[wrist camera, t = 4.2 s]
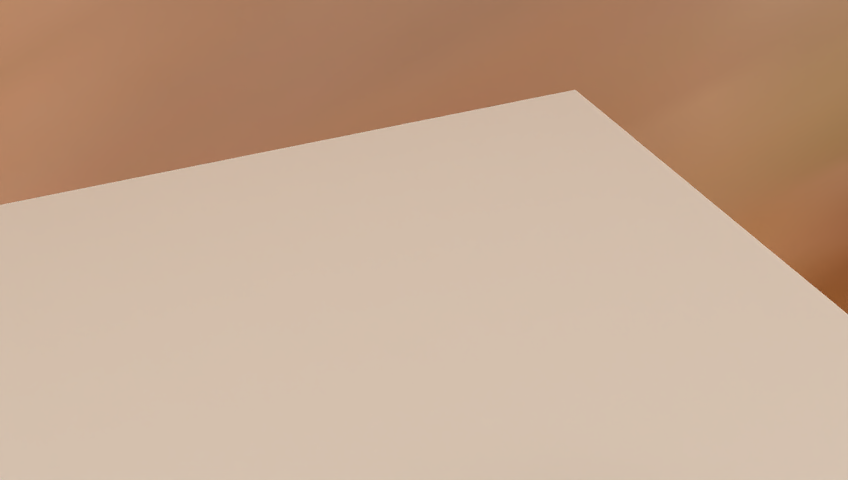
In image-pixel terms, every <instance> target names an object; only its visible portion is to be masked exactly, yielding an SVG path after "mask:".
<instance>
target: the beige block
mask: <svg viewBox="0 0 848 480" xmlns="http://www.w3.org/2000/svg"><path fill="white" fill-rule="evenodd" d="M0 480H848V314H847V313H845V312H844V311H843V310H842V309H841V308H839V307H838V306H837V305H836V304H834V303H833V302H832V301H831V300H830V299H828V298H827V297H826V296H825V295H824V294H822V293H821V292H820V291H819V290H818V289H816V288H815V287H814V286H813V285H811V284H810V283H809V282H808V281H807V280H805V279H804V278H803V277H802V276H801V275H799V274H798V273H797V272H796V271H794V270H793V269H792V268H791V267H790V266H788V265H787V264H786V263H785V262H784V261H782V260H781V259H780V258H779V257H777V256H776V255H775V254H774V253H773V252H771V251H770V250H769V249H768V248H767V247H765V246H764V245H763V244H762V243H760V242H759V241H758V240H757V239H756V238H754V237H753V236H752V235H751V234H750V233H748V232H747V231H746V230H745V229H743V228H742V227H741V226H740V225H739V224H737V223H736V222H735V221H734V220H733V219H731V218H730V217H729V216H728V215H727V214H725V213H724V212H723V211H722V210H720V209H719V208H718V207H717V206H716V205H714V204H713V203H712V202H711V201H710V200H708V199H707V198H706V197H705V196H703V195H702V194H701V193H700V192H699V191H697V190H696V189H695V188H694V187H693V186H691V185H690V184H689V183H688V182H686V181H685V180H684V179H683V178H682V177H680V176H679V175H678V174H677V173H676V172H674V171H673V170H672V169H671V168H669V167H668V166H667V165H666V164H665V163H663V162H662V161H661V160H660V159H659V158H657V157H656V156H655V155H654V154H652V153H651V152H650V151H649V150H648V149H646V148H645V147H644V146H643V145H642V144H640V143H639V142H638V141H637V140H636V139H634V138H633V137H632V136H631V135H629V134H628V133H627V132H626V131H625V130H623V129H622V128H621V127H620V126H619V125H617V124H616V123H615V122H614V121H612V120H611V119H610V118H609V117H608V116H606V115H605V114H604V113H603V112H602V111H600V110H599V109H598V108H597V107H595V106H594V105H593V104H592V103H591V102H589V101H588V100H587V99H586V98H585V97H583V96H582V95H581V94H580V93H578V92H577V91H576V90H572V91H567V92H562V93H557V94H552V95H547V96H542V97H537V98H532V99H527V100H522V101H517V102H512V103H507V104H502V105H497V106H492V107H487V108H482V109H477V110H472V111H467V112H462V113H457V114H452V115H447V116H442V117H437V118H432V119H427V120H422V121H417V122H412V123H407V124H402V125H397V126H392V127H387V128H382V129H377V130H372V131H367V132H362V133H357V134H352V135H347V136H342V137H337V138H332V139H327V140H322V141H317V142H312V143H307V144H302V145H297V146H292V147H287V148H282V149H277V150H272V151H267V152H262V153H257V154H253V155H248V156H243V157H238V158H233V159H228V160H223V161H218V162H213V163H208V164H203V165H198V166H193V167H188V168H183V169H178V170H173V171H168V172H163V173H158V174H153V175H148V176H143V177H138V178H133V179H128V180H123V181H118V182H113V183H108V184H103V185H98V186H93V187H88V188H83V189H78V190H73V191H68V192H63V193H58V194H53V195H48V196H43V197H38V198H33V199H28V200H23V201H18V202H13V203H8V204H3V205H0Z"/></svg>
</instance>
